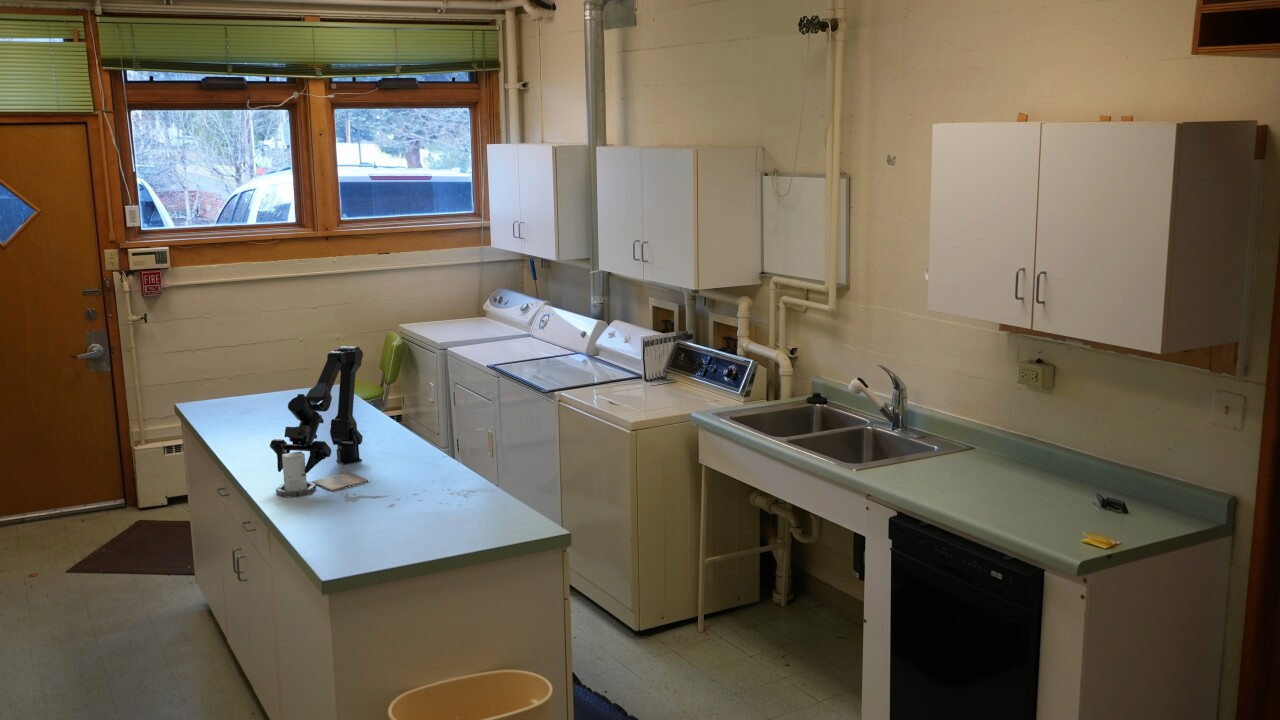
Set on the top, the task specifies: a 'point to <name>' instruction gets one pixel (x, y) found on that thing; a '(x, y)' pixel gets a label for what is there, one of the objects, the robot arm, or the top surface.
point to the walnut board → (339, 481)
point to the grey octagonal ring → (309, 490)
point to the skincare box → (294, 471)
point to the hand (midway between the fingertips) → (292, 472)
